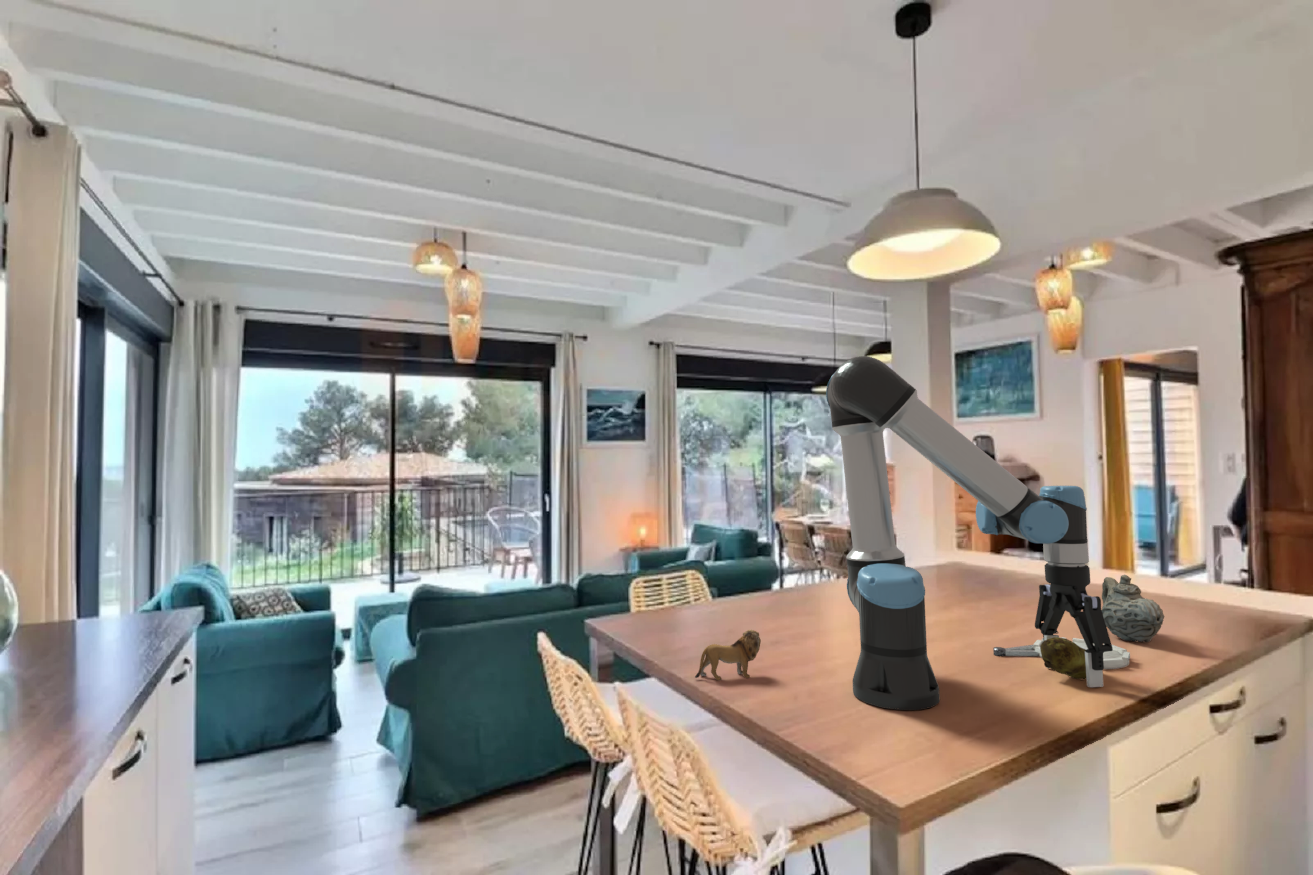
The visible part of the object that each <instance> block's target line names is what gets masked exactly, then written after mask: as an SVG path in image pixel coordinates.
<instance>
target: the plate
mask: <svg viewBox="0 0 1313 875" xmlns="http://www.w3.org/2000/svg"><path fill="white" fill-rule="evenodd" d="M1059 638H1065V639H1067V637H1063V636H1062V637H1060V636H1059ZM1042 641H1043V637H1041V639H1036V641H1035V642H1034V643H1032V645H1033V649H1035V651H1037V652H1038V653H1039V656H1038V657H1039V658H1042V655H1041V649H1040V646H1041V644H1042ZM1071 641H1072V642H1074V643H1075V644H1077V645H1078V646H1079V647H1081V648H1083V649H1086V650H1087V649H1088V648H1087V646H1086V643H1085V641H1084V639H1083V638H1078V637H1072V639H1071ZM1043 642H1044V641H1043ZM1093 645H1094V643H1093ZM1103 645H1104V644H1103ZM1094 646H1095V645H1094ZM1112 648H1113V650H1112V651H1108V652H1104V653H1103V663H1104V664H1103V665H1104V669H1103V670H1117V669H1122V668H1126V667H1128V666H1129V665H1130V659H1131V652H1130V651H1127V650H1128V649H1126V648H1123V647H1120V646H1117V645H1114V644H1112Z"/></svg>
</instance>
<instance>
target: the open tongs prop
mask: <svg viewBox="0 0 1313 875" xmlns="http://www.w3.org/2000/svg"><path fill="white" fill-rule="evenodd" d="M1042 642H1043V641H1042ZM992 651H993V656H996V657H1039V653H1038V652H1037V651H1035V649H1033V644H1028V645H1021V646H1014V647H1013V646H1012V647H1001V646H994V647H992Z"/></svg>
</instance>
